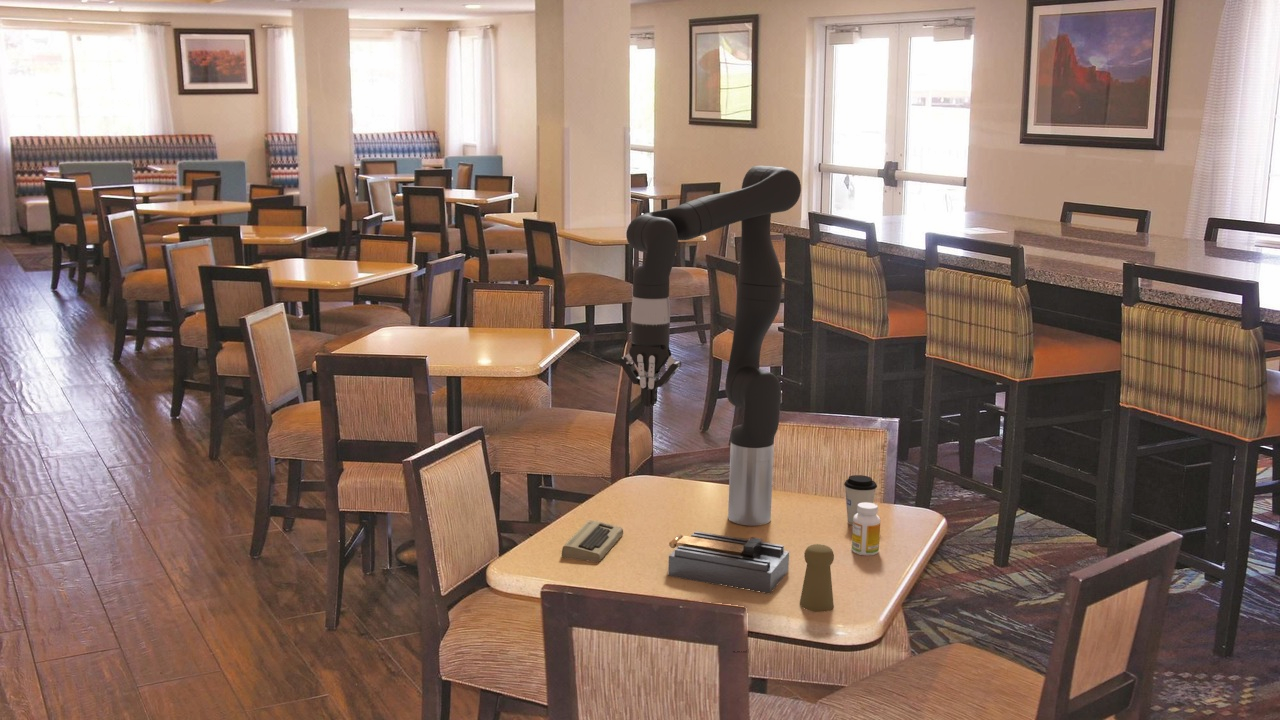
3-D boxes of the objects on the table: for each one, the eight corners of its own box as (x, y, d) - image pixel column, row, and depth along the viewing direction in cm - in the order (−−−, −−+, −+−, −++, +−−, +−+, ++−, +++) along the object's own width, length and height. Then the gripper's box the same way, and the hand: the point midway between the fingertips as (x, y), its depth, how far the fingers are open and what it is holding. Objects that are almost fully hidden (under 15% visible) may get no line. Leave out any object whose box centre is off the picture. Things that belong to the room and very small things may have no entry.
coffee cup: (878, 520, 254) (881, 476, 252) (870, 530, 248) (873, 485, 246) (846, 515, 257) (849, 471, 255) (838, 525, 251) (840, 480, 249)
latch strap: (676, 540, 229) (677, 534, 228) (747, 552, 223) (748, 545, 223) (669, 547, 225) (669, 540, 225) (741, 559, 219) (741, 551, 219)
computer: (600, 564, 228) (600, 548, 227) (560, 559, 230) (561, 543, 229) (623, 537, 243) (624, 522, 242) (586, 533, 245) (586, 518, 244)
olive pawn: (796, 598, 212) (799, 540, 210) (829, 597, 213) (832, 540, 211) (803, 612, 206) (806, 553, 204) (837, 611, 207) (840, 552, 205)
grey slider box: (690, 554, 233) (691, 521, 231) (788, 571, 225) (789, 536, 223) (668, 575, 222) (669, 540, 220) (769, 593, 214) (771, 557, 213)
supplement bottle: (880, 548, 238) (883, 502, 236) (876, 557, 233) (879, 511, 231) (853, 545, 239) (856, 499, 237) (849, 554, 234) (852, 507, 232)
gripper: (689, 319, 229) (687, 405, 232) (627, 313, 234) (626, 398, 237) (675, 325, 222) (673, 414, 225) (611, 319, 227) (610, 406, 230)
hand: (648, 406), depth 231 cm, fingers closed
